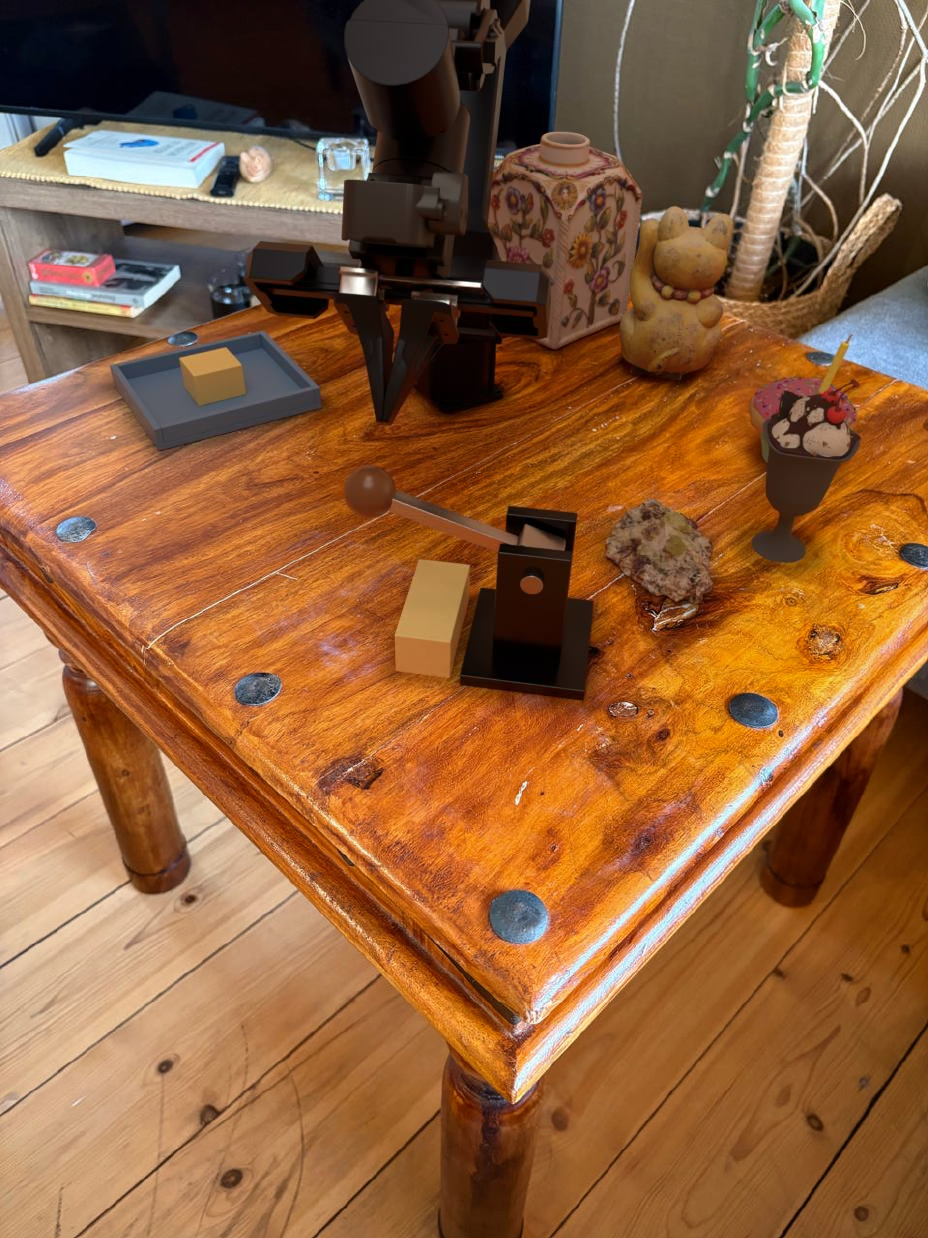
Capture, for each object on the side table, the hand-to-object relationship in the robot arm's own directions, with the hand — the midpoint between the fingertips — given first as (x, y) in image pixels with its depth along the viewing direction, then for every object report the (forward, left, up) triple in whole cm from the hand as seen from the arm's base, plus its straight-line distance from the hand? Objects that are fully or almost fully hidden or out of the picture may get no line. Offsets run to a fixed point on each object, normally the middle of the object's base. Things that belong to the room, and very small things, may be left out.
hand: (383, 423), depth 62 cm
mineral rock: (-19, +7, -14) cm, 25 cm away
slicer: (-5, +10, -14) cm, 18 cm away
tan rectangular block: (0, +6, -14) cm, 15 cm away
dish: (+1, -33, -14) cm, 36 cm away
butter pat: (+1, -33, -13) cm, 35 cm away
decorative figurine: (-39, -17, -14) cm, 45 cm away
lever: (-1, +6, -6) cm, 8 cm away
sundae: (-28, +10, -14) cm, 33 cm away
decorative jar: (-36, -32, -14) cm, 50 cm away
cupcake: (-38, +1, -14) cm, 41 cm away
